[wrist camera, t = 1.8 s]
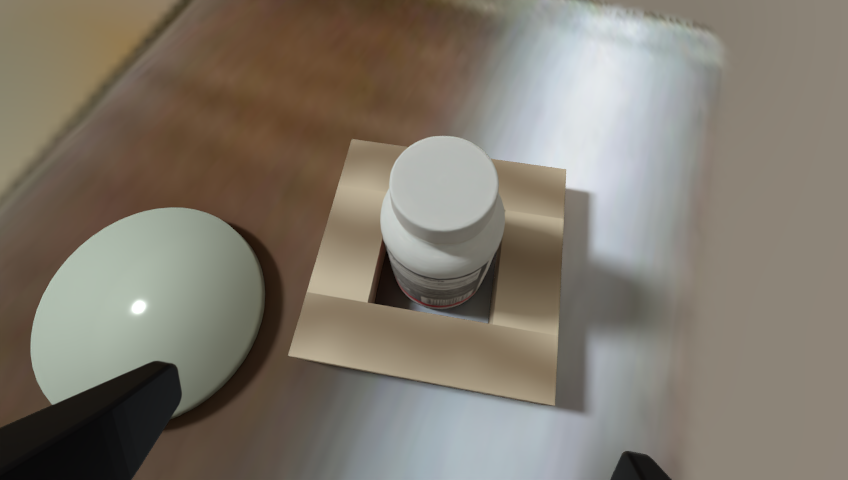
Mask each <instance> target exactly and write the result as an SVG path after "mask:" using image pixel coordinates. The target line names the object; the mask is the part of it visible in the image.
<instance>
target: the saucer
mask: <svg viewBox="0 0 848 480" xmlns="http://www.w3.org/2000/svg"><path fill="white" fill-rule="evenodd" d="M264 308H265V282H264V277H263V272H262V268H261V266H260V263H259V260H258V258H257V256H256V254H255V253H254V251H253V249H252V247H251V246H250V245H249V244H248V243H247V241H246V240H245V239H244V238H243V237H242V236H241V235H240V234H239V233H237V232H236V231H235V230H234V229H233V228H232V227H231V226H229V225H228V224H227V223H225V222H224V221H222V220H220V219H219V218H217V217H215V216H213V215H210V214H208V213H205V212H202V211H198V210H194V209H187V208H161V209H154V210H149V211H144V212H141V213H138V214H134V215H131V216H129V217H126V218H124V219H122V220H119V221H117V222H115V223H113V224H111V225H110V226H108V227H106V228H104V229H103V230H101V231H100V232H98V233H97V234H95V235H94V236H92V237H91V238H90V239H89V240H87V241H86V242H85V243H84V244H82V245H81V246H80V247H79V248H78V249H77V250H76V251H75V252H74V253H73V254H72V255H71V256H70V257H69V258H68V259H67V260H66V261H65V263H64V264H63V265H62V266H61V267H60V269H59V270H58V271H57V273H56V274H55V276H54V277H53V279H52V280H51V282H50V283H49V285H48V287H47V289H46V291H45V293H44V294H43V296H42V299H41V301H40V304H39V306H38V309H37V312H36V315H35V319H34V322H33V328H32V334H31V359H32V366H33V370H34V373H35V376H36V379H37V382H38V384H39V386H40V388H41V389H42V391H43V393H44V394H45V396H46V397H47V398H48V400H49V401H50V402H51V403H52V404H56V403H58V402H60V401H63V400H65V399H67V398H69V397H72V396H74V395H76V394H79V393H81V392H83V391H86V390H88V389H90V388H92V387H95V386H97V385H99V384H102V383H104V382H106V381H108V380H111V379H113V378H115V377H118V376H120V375H122V374H124V373H127V372H129V371H131V370H134V369H136V368H138V367H141V366H143V365H145V364H147V363H150V362H152V361H163V362H168V363H173V364H175V365H176V366H177V368H178V372H179V378H180V384H181V389H182V398H181V401H180V404H179V406H178V407H177V409H176V411H175V412H174V414H173V415H172V417H171V419H172V418H175V417H178V416H180V415H182V414H184V413H186V412H188V411H190V410H192V409H194V408H195V407H197V406H198V405H200V404H201V403H203V402H204V401H206V400H207V399H209V398H210V397H211V396H212V395H213V394H215V393H216V392H217V391H218V390H219V389H220V388H222V386H223V385H224V384H225V383H226V382H227V381H228V380H229V379H230V378H231V377H232V376H233V375H234V373H235V372H236V371H237V370H238V368H239V367H240V366H241V364H242V363H243V361H244V360H245V358H246V356H247V355H248V353H249V351H250V350H251V348H252V346H253V343H254V341H255V339H256V337H257V335H258V332H259V328H260V325H261V322H262V318H263V313H264Z"/></svg>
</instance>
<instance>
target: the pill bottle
mask: <svg viewBox="0 0 848 480" xmlns="http://www.w3.org/2000/svg"><path fill="white" fill-rule="evenodd" d="M498 190H499V180H498V174H497V170H496V168H495V166H494V164H493V162H492V160H491V159H490V157H489V156H488V155H487V154H486V153H485V152H484V151H483V150H482V149H481V148H479V147H478V146H476V145H475V144H473V143H471V142H469V141H467V140H465V139H461V138H457V137H453V136H434V137H429V138H426V139H423V140H420V141H418V142H416V143H414V144H413V145H411V146H410V147H408V148H407V149H406V150H404V151H403V152H402V154H401V155H400V156H399V157H398V159H397V160H396V161H395V163H394V165H393V168H392V170H391V174H390V179H389V189H388V191H387V193H386V195H385V197H384V200H383V203H382V208H381V214H380V224H381V232H382V236H383V240H384V243H385V246H386V250H387V253H388V256H389V259H390V262H391V266H392V269H393V272H394V275H395V278H396V281H397V283H398V285H399V286H400V288H401V290H402V291H403V292H404V293H405V294H406V295H407V296H408V297H409V298H410V299H411V300H412V301H414V302H416V303H417V304H419V305H422V306H424V307H427V308H431V309H448V308H452V307H455V306H458V305H460V304H462V303H464V302H466V301H467V300H468V299H470V298H471V297H472V296H473V295H474V294H475V293H476V291H477V290H478V288H479V287H480V285H481V283H482V281H483V279H484V277H485V275H486V273H487V271H488V269H489V266H490V264H491V261H492V259H493V257H494V254H495V253H496V251H497V249H498V247H499V244H500V242H501V239H502V236H503V232H504V226H505V211H504V206H503V202H502V199H501V197H500V195H499V193H498Z"/></svg>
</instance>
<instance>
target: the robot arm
mask: <svg viewBox="0 0 848 480" xmlns="http://www.w3.org/2000/svg"><path fill="white" fill-rule="evenodd" d="M181 398H182V389H181V384H180V378H179V372H178V368H177V366H176V365H175V364H173V363H168V362H163V361H152V362H150V363H147V364H145V365H143V366H141V367H138V368H136V369H134V370H131V371H129V372H127V373H124V374H122V375H120V376H118V377H115V378H113V379H111V380H108V381H106V382H104V383H102V384H99V385H97V386H95V387H92V388H90V389H88V390H86V391H83V392H81V393H79V394H76V395H74V396H72V397H69V398H67V399H65V400H63V401H60V402H58V403H56V404H53V405H51V406H49V407H47V408H44V409H42V410H40V411H37V412H35V413H33V414H31V415H28V416H26V417H24V418H21V419H19V420H17V421H14V422H12V423H10V424H8V425H5V426H3V427H1V428H0V480H132V478H133V477H134V475H135V474H136V472H137V471H138V469H139V468H140V466H141V465H142V463H143V461H144V460H145V458H146V457H147V455H148V453H149V452H150V450H151V449H152V447H153V445H154V444H155V442H156V441H157V439H158V438H159V436H160V434H161V433H162V431H163V430H164V428H165V426H166V425H167V423H168V422H169V420H170V419H171V417H172V415H173V414H174V412H175V411H176V409H177V407H178V406H179V404H180V401H181ZM611 480H671V478H670V477H669V476H668V475H667V474H666V473H665V472H664V471H663V470H662V469H661V468H660V467H659V466H658V465H657V463H656V462H655V461H654V460H653V459H652V458H651V457H649V456H648V455H646V454H641V453H636V452H631V451H625V452H624V453H623V454H622V455H621V457H620V459H619V461H618V464H617V466H616V468H615V470H614V472H613V475H612V477H611Z"/></svg>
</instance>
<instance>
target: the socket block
mask: <svg viewBox="0 0 848 480" xmlns="http://www.w3.org/2000/svg"><path fill="white" fill-rule="evenodd" d="M407 148H408V147H404V146H397V145H390V144H383V143H375V142H368V141H361V140H354V139H352V141H351V144H350V147H349V151H348V154H347V158H346V161H345V164H344V168H343V171H342V175H341V178H340V181H339V185H338V188H337V192H336V195H335V198H334V202H333V205H332V208H331V212H330V215H329V219H328V222H327V225H326V229H325V232H324V236H323V239H322V242H321V246H320V249H319V253H318V256H317V259H316V263H315V266H314V270H313V273H312V276H311V280H310V283H309V287H308V290H307V293H306V297H305V300H304V304H303V307H302V310H301V314H300V317H299V320H298V324H297V327H296V331H295V334H294V337H293V341H292V344H291V348H290V351H289V354H288V356H291V357H295V358H298V359H302V360H307V361H312V362H318V363H323V364H328V365H334V366H339V367H344V368H350V369H355V370H360V371H366V372H371V373H376V374H382V375H387V376H392V377H398V378H403V379H408V380H414V381H419V382H424V383H430V384H435V385H440V386H446V387H451V388H456V389H462V390H467V391H472V392H478V393H483V394H488V395H494V396H499V397H504V398H510V399H515V400H520V401H526V402H531V403H536V404H542V405H554V406H555V392H556V371H557V350H558V329H559V309H560V288H561V267H562V246H563V225H564V204H565V183H566V169H559V168H552V167H545V166H538V165H531V164H524V163H517V162H510V161H503V160H495V159H491V160H492V162H493V164H494V166H495V168H496V170H497V174H498V180H499V190H498V193H499V195H500V197H501V199H502V202H503V206H504V211H505V226H504V232H503V236H502V239H501V242H500V244H499V247H498V249H497V252H496V261H495V269H494V278H493V287H492V296H491V304H490V313H489V322H488V323H482V322H476V321H471V320H465V319H459V318H453V317H448V316H442V315H436V314H430V313H425V312H419V311H413V310H407V309H402V308H396V307H390V306H384V305H379V304H374V302H375V298H376V293H377V289H378V284H379V280H380V276H381V271H382V267H383V262H384V258H385V254H386V246H385V243H384V240H383V236H382V232H381V224H380V214H381V208H382V203H383V200H384V197H385V195H386V193H387V191H388V189H389V179H390V174H391V170H392V168H393V165H394V163H395V161H396V160H397V159H398V157H399V156H400V155H401V154H402V152H403V151H404V150H406V149H407Z"/></svg>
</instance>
